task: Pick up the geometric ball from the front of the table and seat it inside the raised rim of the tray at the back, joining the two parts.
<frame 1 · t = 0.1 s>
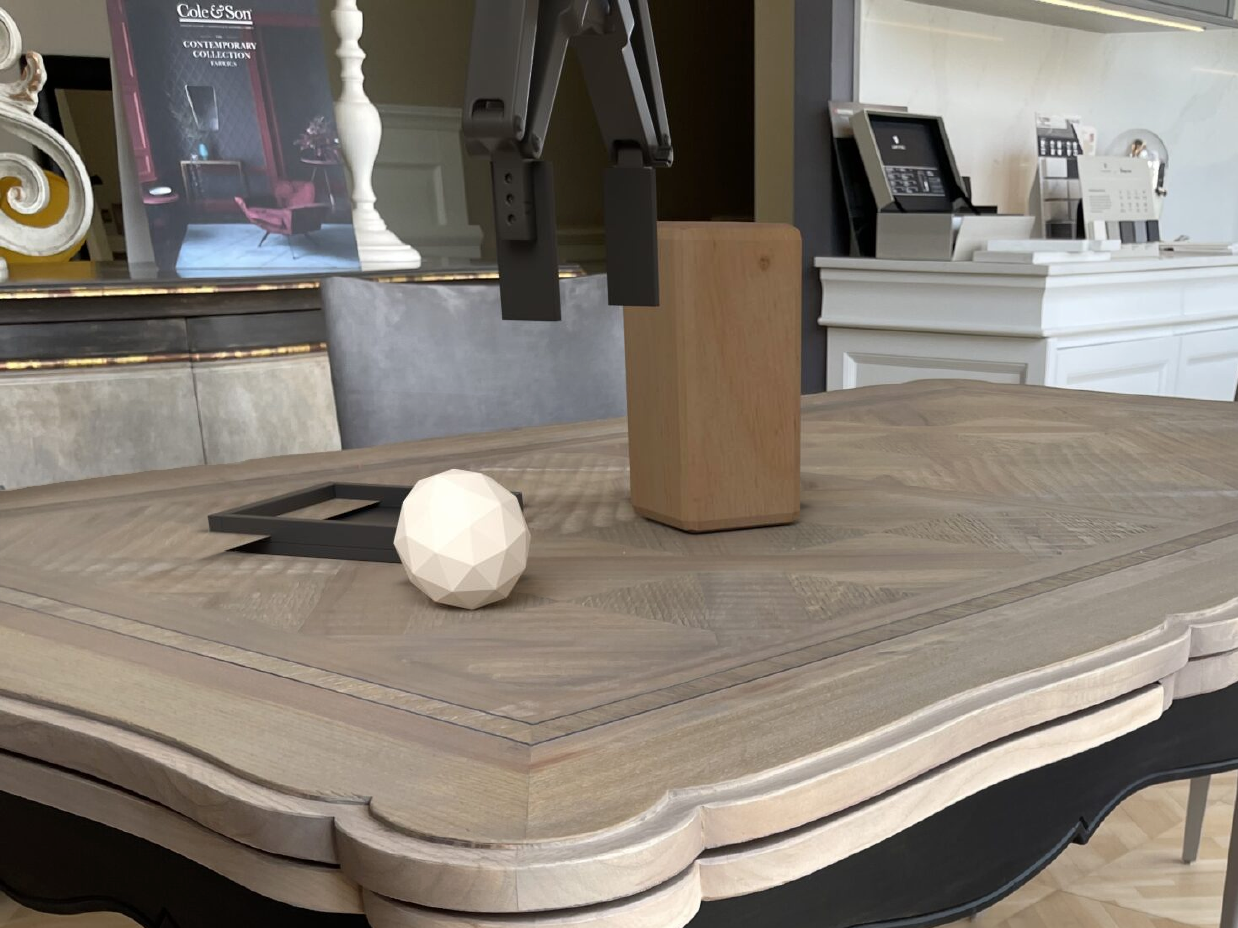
hand: (586, 313, 81), 16 cm above the table, tool pointing down, fingers open, 13 cm apart
geometric ball: (469, 608, 95), on the table
wooden block: (714, 523, 121), on the table
tray: (375, 536, 113), on the table
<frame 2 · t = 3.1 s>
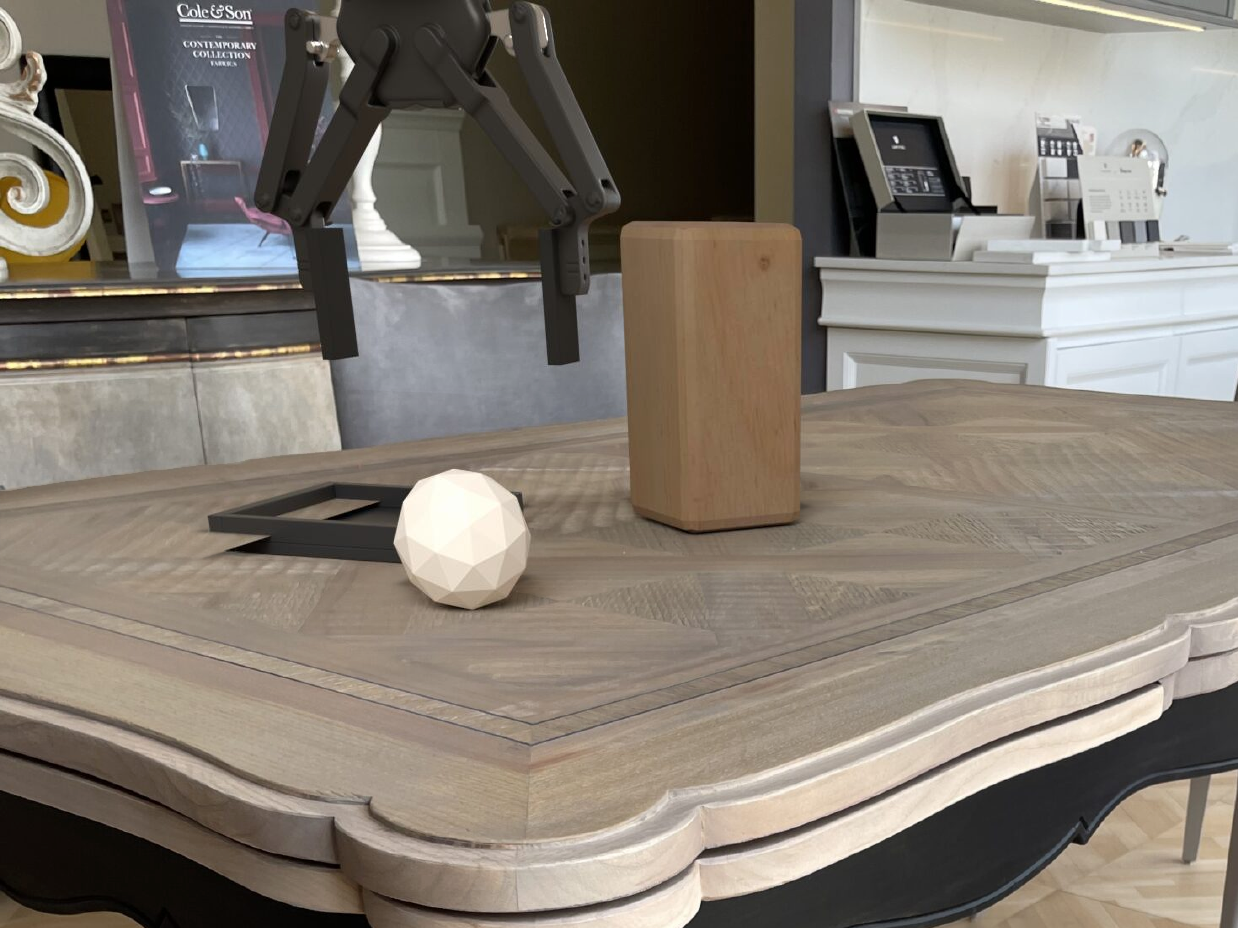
hand: (450, 361, 88), 13 cm above the table, tool pointing down, fingers open, 13 cm apart
nothing on the table moved.
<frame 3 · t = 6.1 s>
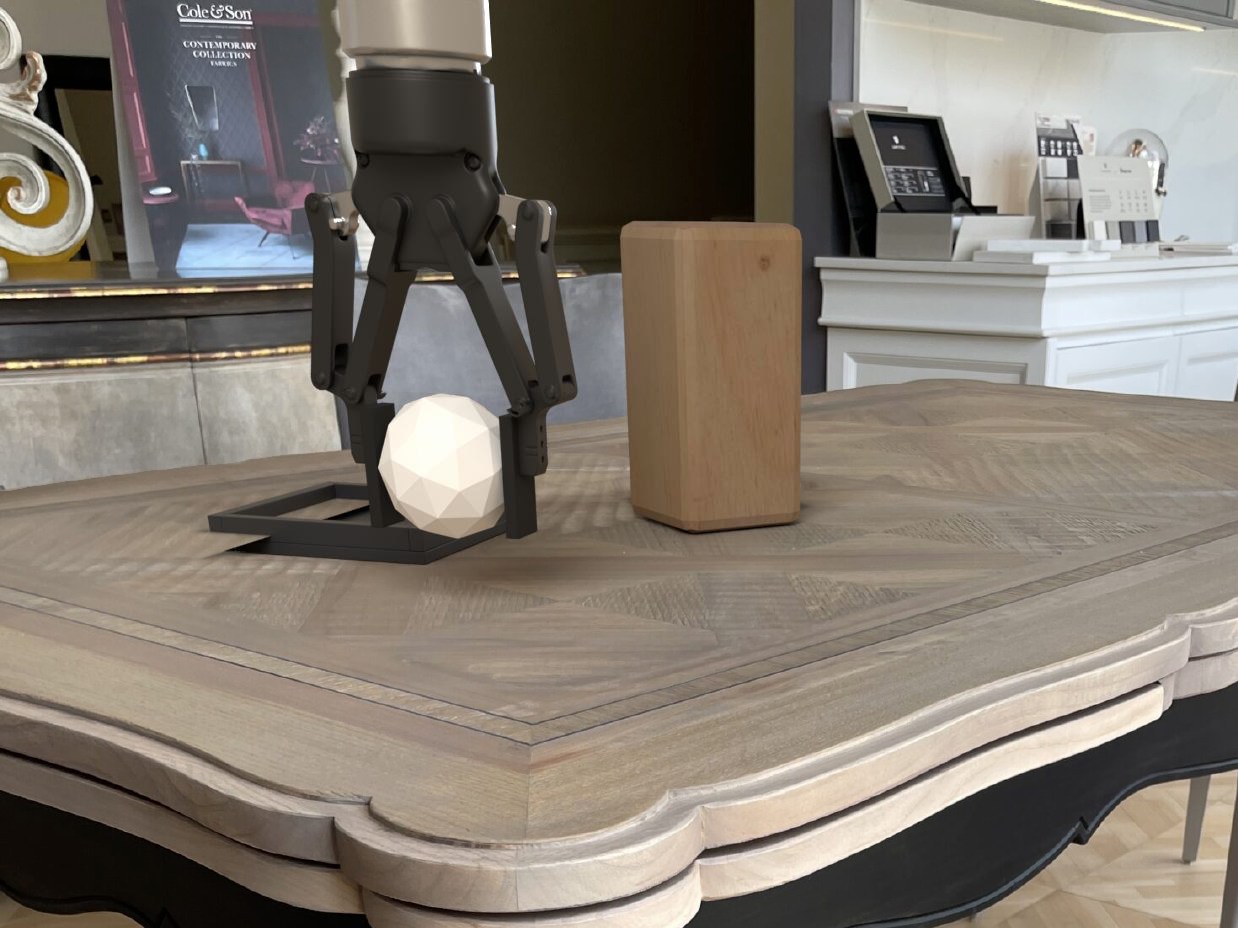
hand: (454, 528, 93), 4 cm above the table, tool pointing down, fingers closed on geometric ball, 8 cm apart
geometric ball: (455, 537, 93), point 4 cm above the table, touching gripper
everything else where it was.
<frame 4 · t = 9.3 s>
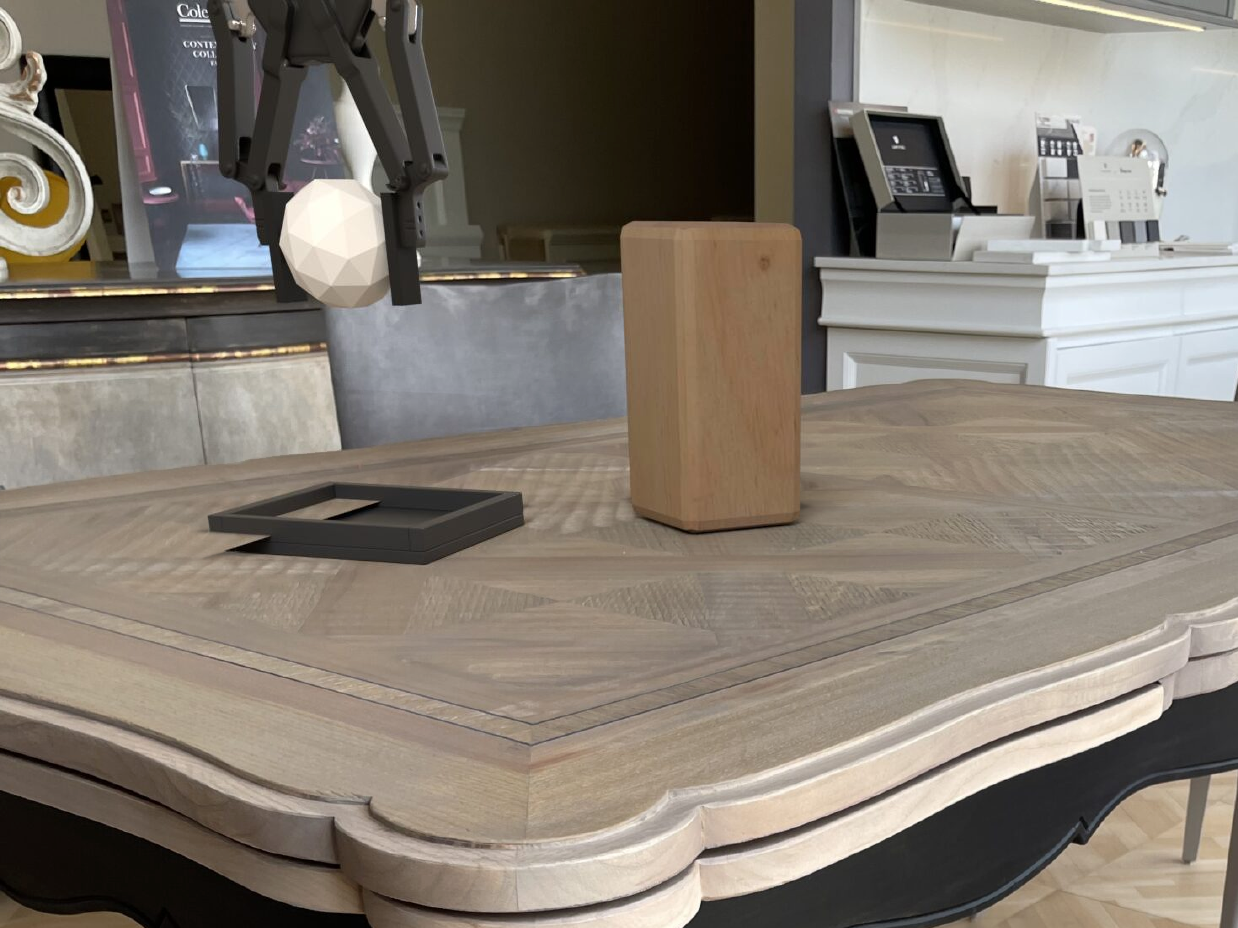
hand: (349, 302, 106), 15 cm above the table, tool pointing down, fingers closed on geometric ball, 8 cm apart
geometric ball: (350, 310, 106), point 15 cm above the table, touching gripper
everything else where it was.
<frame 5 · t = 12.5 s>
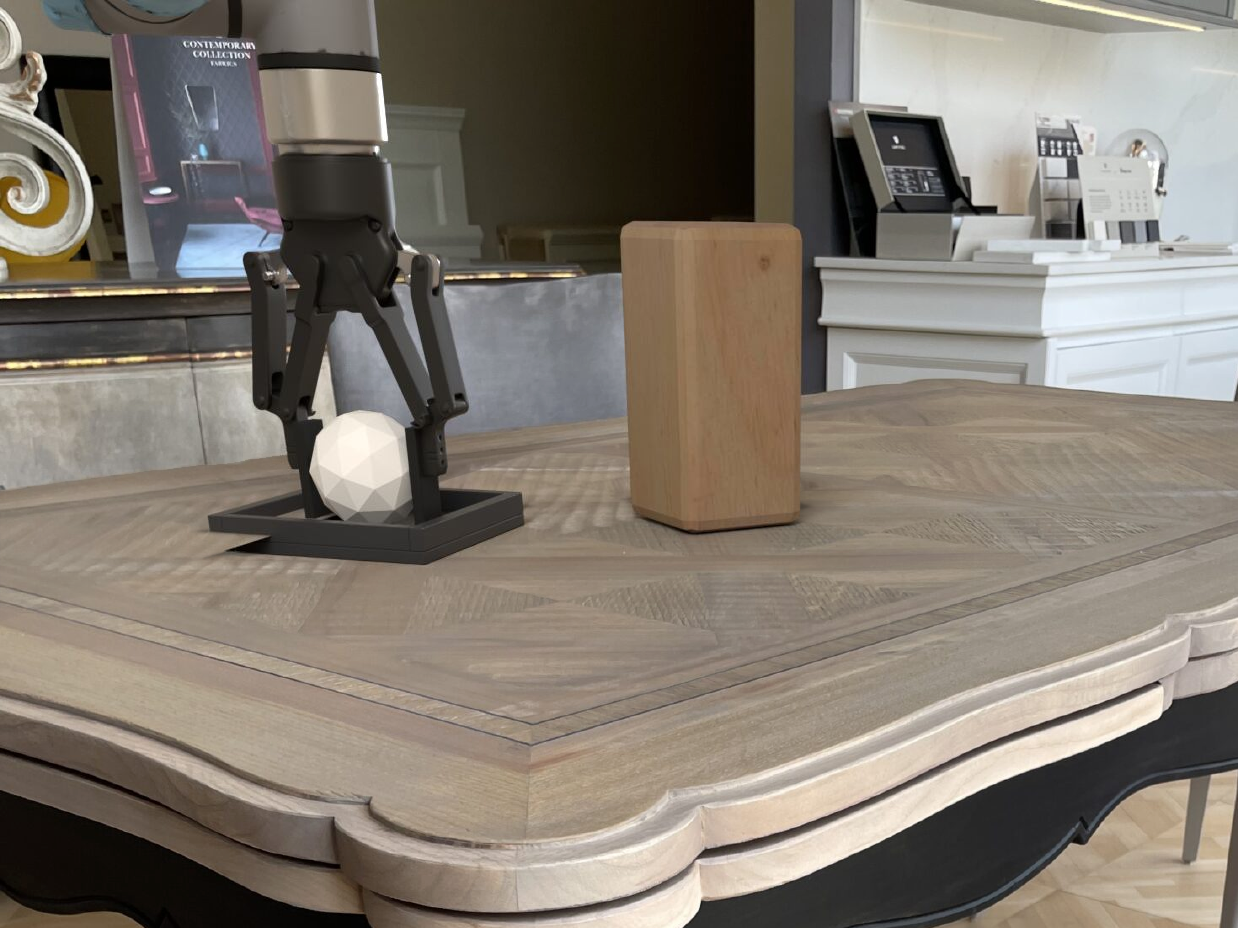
hand: (374, 521, 113), 1 cm above the table, tool pointing down, fingers closed on geometric ball, 8 cm apart
geometric ball: (375, 527, 113), point 1 cm above the table, touching gripper
everything else where it was.
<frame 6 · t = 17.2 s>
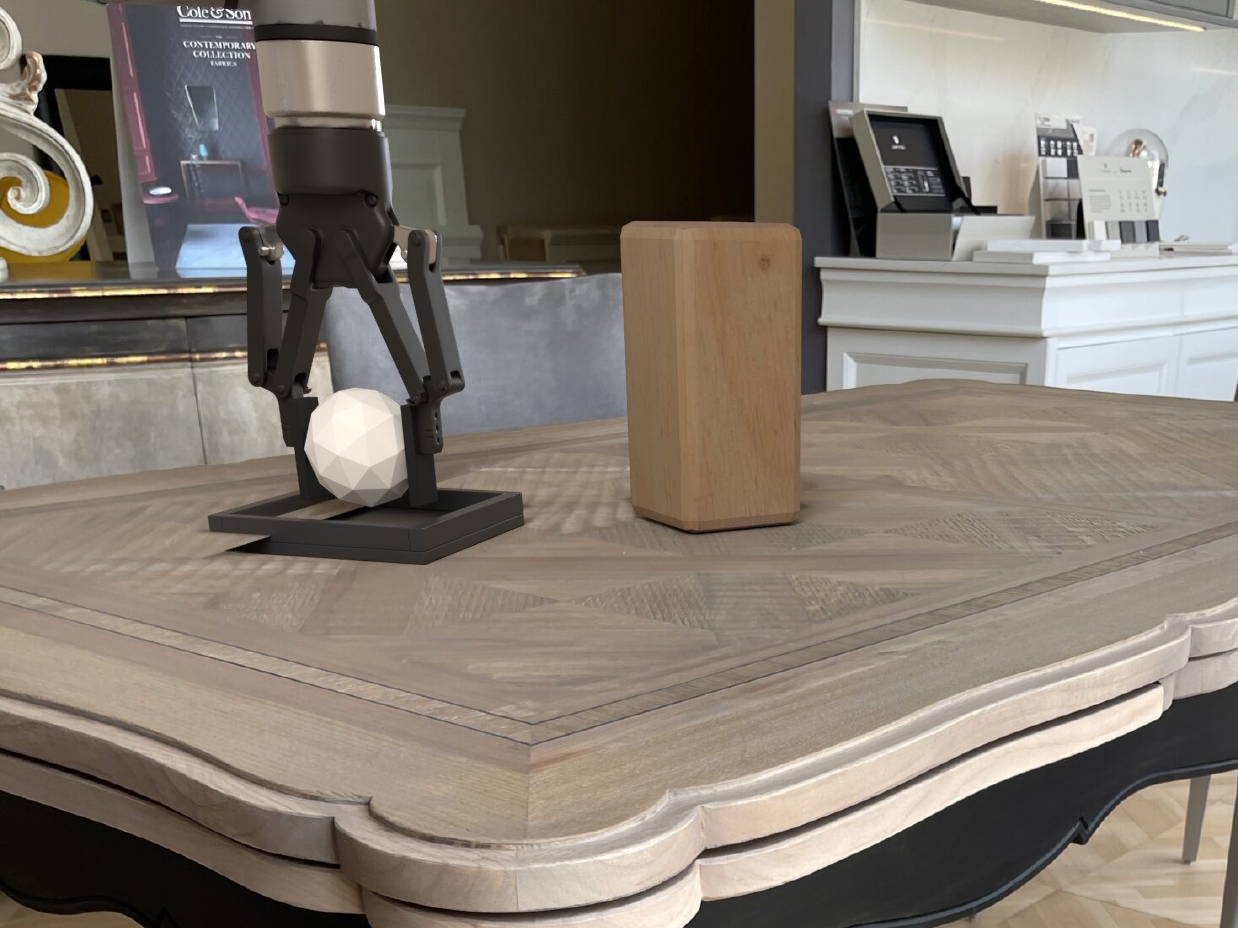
hand: (369, 499, 112), 3 cm above the table, tool pointing down, fingers closed on geometric ball, 8 cm apart
geometric ball: (370, 506, 112), point 2 cm above the table, touching gripper
everything else where it was.
when the fingers open (2 cm above the table, at t = 21.2 s): geometric ball drops 1 cm, resting on tray.
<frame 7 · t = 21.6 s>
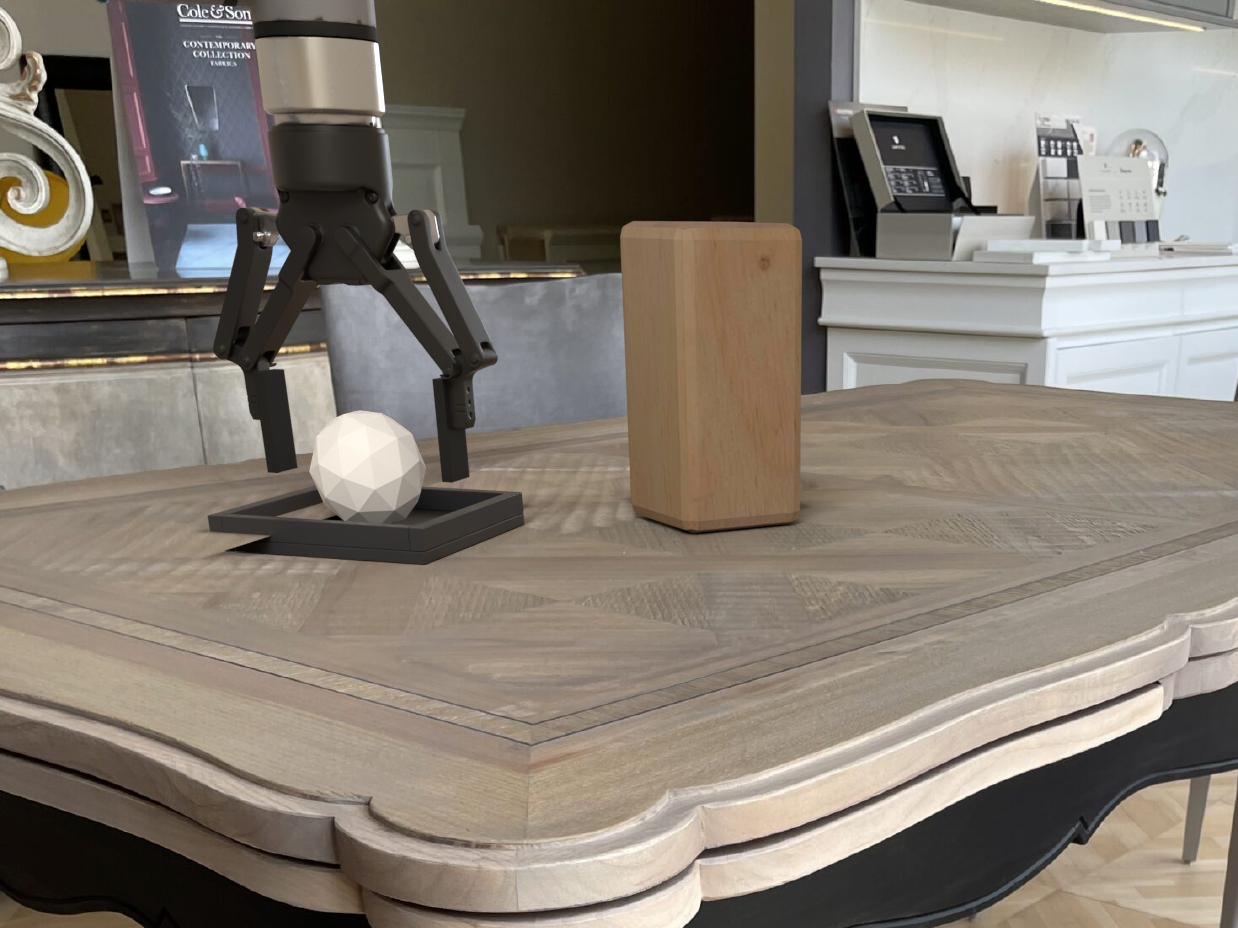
hand: (368, 475, 111), 4 cm above the table, tool pointing down, fingers open, 13 cm apart
geometric ball: (375, 528, 113), point 1 cm above the table, touching tray
everything else where it was.
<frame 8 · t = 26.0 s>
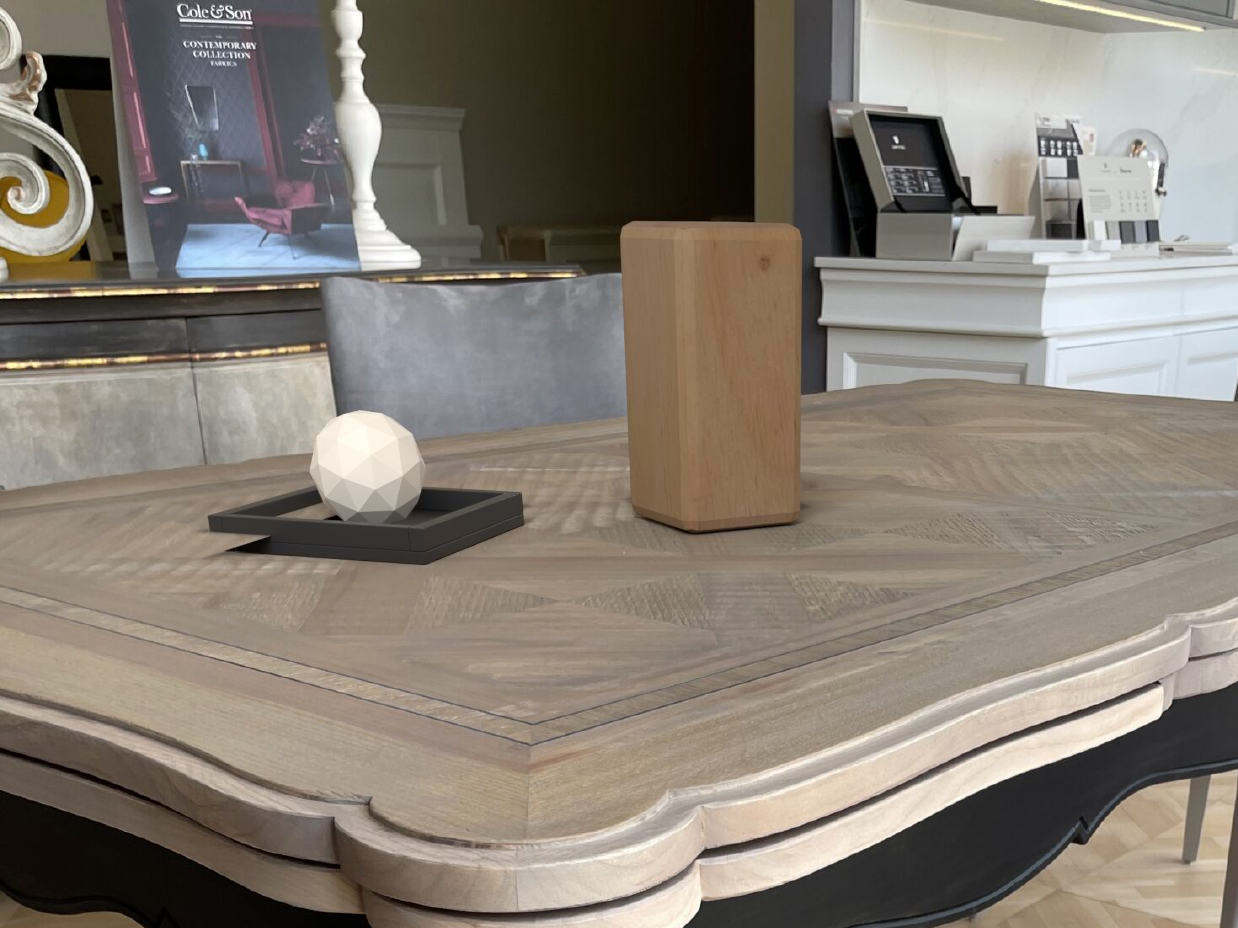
nothing on the table moved.
at the end: geometric ball inside the target area in the tray (0.1 cm from its centre), point 0.6 cm above the tray's base; the gripper is holding nothing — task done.
